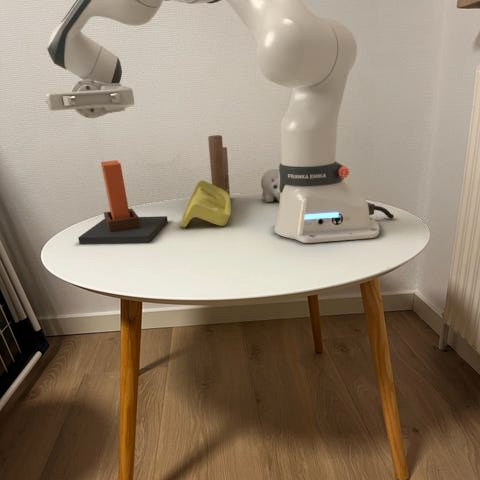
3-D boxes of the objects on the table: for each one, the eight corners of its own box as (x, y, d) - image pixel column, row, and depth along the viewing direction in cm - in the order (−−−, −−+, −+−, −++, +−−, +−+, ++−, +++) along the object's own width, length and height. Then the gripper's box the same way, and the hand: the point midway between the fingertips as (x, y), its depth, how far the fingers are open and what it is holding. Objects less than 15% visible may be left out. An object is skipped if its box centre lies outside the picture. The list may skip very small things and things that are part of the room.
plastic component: (230, 217, 99) (189, 200, 97) (219, 244, 103) (179, 229, 101) (230, 192, 116) (195, 177, 114) (220, 216, 119) (186, 202, 117)
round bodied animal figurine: (266, 209, 113) (265, 175, 109) (259, 198, 124) (259, 167, 120) (292, 207, 114) (293, 173, 110) (284, 196, 124) (284, 166, 120)
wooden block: (230, 198, 126) (226, 132, 118) (226, 207, 117) (221, 136, 108) (217, 199, 127) (212, 132, 118) (212, 208, 117) (206, 137, 109)
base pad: (167, 222, 107) (165, 206, 105) (149, 242, 93) (146, 224, 92) (106, 223, 109) (103, 207, 107) (79, 244, 95) (75, 226, 93)
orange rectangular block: (112, 223, 104) (100, 162, 97) (127, 220, 105) (116, 160, 98) (116, 229, 99) (103, 165, 92) (131, 226, 100) (120, 163, 93)
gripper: (42, 87, 106) (42, 86, 94) (126, 83, 112) (135, 81, 101) (49, 115, 109) (49, 118, 97) (130, 109, 115) (139, 111, 104)
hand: (93, 99), depth 99 cm, fingers open, 8 cm apart
